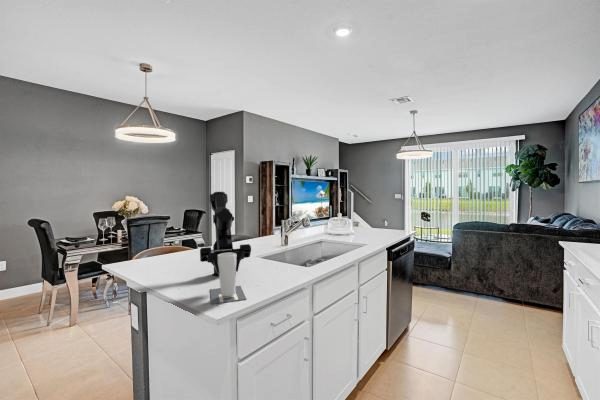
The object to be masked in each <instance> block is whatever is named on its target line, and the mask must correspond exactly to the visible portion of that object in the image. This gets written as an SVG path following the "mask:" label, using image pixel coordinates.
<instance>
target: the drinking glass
mask: <svg viewBox="0 0 600 400" xmlns="http://www.w3.org/2000/svg"><path fill="white" fill-rule="evenodd" d="M236 257H237V254H236V253H232V252H227V253H221V254H218V269H219V276H218V280H219V286H220V287H219V288H221V295H222V296H232V295H234V294H235V293H236V286H237V285H236V283H237V271H236V266H237V260H236Z"/></svg>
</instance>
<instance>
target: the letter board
mask: <svg viewBox="0 0 600 400" xmlns="http://www.w3.org/2000/svg"><path fill="white" fill-rule="evenodd" d="M209 292H210V299H211V300H210V301H211V305H219V304H225V303H226V304H227V303H233V302H238V301H246V300H247V297H246V295H245V293H244V290H243V288H242V286H241V285H236V293H235V294H234V295H232V296H222V295H221V287H219V288H218V287H217V288H210V289H209Z"/></svg>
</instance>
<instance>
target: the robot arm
mask: <svg viewBox="0 0 600 400" xmlns="http://www.w3.org/2000/svg"><path fill="white" fill-rule="evenodd" d="M228 201H229V200H228V194H227V193H226V192H225V191H214V192H213V193H211V194H209V205H210V207H211V208H210V209H211V210H212V211H213V212H214V214H213V215H212V224H214V226H215V242H214V244H213V246H212V247H211V246H207V247H201V248H200V249H199V258H200V259H199V260H200V262H201V263H204V262H207V263H210V264H211V265H212V266H213V273H212V274H211V275H212V276H217V277H219V269H218V254H221V253H227V252H232V253H236V260H237V266H236V273H238V271H239V268H240V263H241V261H242V260H244V259H245V258H247V259H248V258H251V252H252V245H250V244H249V243H247V244H240V245H239V248H234V245H233V237H232V224H233V222H234V221H235V216H233V214H232V212H231V211H230V209H228V208H227V204H228Z"/></svg>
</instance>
